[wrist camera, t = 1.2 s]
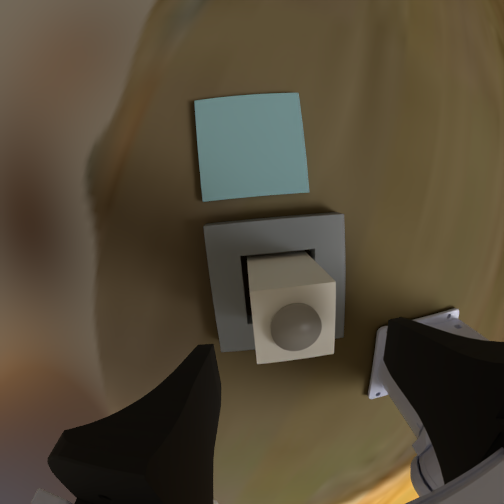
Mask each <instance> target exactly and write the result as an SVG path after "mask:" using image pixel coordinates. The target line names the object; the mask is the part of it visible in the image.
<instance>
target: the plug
mask: <svg viewBox="0 0 504 504" xmlns="http://www.w3.org/2000/svg"><path fill="white" fill-rule="evenodd" d="M247 266H248V278H249V291H250V301H251V311H252V320H253V330H254V340H255V349H256V359H257V364H265V363H274V362H282V361H290V360H297V359H304V358H311V357H317V356H323V355H329V354H334V342H335V311H336V281H335V280H334V279H333V278H332V277H331V276H330V275H329V274H328V273H327V272H326V271H325V270H324V269H323V268H322V267H321V266H319V265H318V264H317V263H316V262H315V261H314V260H313V259H312V258H311V257H310V256H309V255H308V254H307V253H306V252H305V251H294V252H283V253H273V254H263V255H253V256H247Z"/></svg>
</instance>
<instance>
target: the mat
mask: <svg viewBox="0 0 504 504" xmlns="http://www.w3.org/2000/svg"><path fill="white" fill-rule="evenodd" d="M194 102H195V118H196V132H197V145H198V157H199V168H200V179H201V189H202V199H203V202H206V201H215V200H224V199H234V198H244V197H255V196H266V195H278V194H292V193H307V192H309V183H308V172H307V161H306V151H305V142H304V133H303V124H302V116H301V108H300V101H299V93H271V94H253V95H240V96H229V97H220V98H211V99H204V100H197V101H194Z"/></svg>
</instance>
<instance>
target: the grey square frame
mask: <svg viewBox="0 0 504 504" xmlns="http://www.w3.org/2000/svg"><path fill="white" fill-rule="evenodd" d="M203 229H204V237H205V245H206V253H207V261H208V269H209V276H210V283H211V290H212V297H213V304H214V310H215V317H216V323H217V330H218V336H219V342H220V348H221V352H231V351H244V350H255V340H254V330H253V320H252V315H247V309H246V300H245V291H244V282H243V272H242V262H241V256H246V255H257V254H267V253H277V252H287V251H297V250H307V249H310V257H311V258H312V259H313V260H314V261H315V262H316V263H317V264H318V265H319V266H321V267H322V268H323V269H324V270H325V271H326V272H327V273H328V274H329V275H330V276H331V277H332V278H333V279H334V280H335V281H336V311H335V339H337V338H342V337H344V316H345V228H344V214H342V213H338V212H332V213H318V214H305V215H292V216H281V217H269V218H258V219H247V220H237V221H227V222H218V223H208V224H205V225H204V226H203Z"/></svg>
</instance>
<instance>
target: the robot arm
mask: <svg viewBox="0 0 504 504" xmlns="http://www.w3.org/2000/svg"><path fill="white" fill-rule="evenodd" d="M448 314H449V315H448ZM458 316H459V310H458V309H457V308H454V309H450V310H447V311H443V312H440V313H436V314H432V315H429V316H425V317H421V318H417V319H413V320H410V319H406V318H402V317H399V318H395V319H390V320H388V326H383V327H380V328H379V329H378V331H377V336H376V344H375V352H374V359H373V366H372V372H371V378H370V384H369V390H368V397H369V399H374V398H378V397H381V396H385V395H388V394H389V396H390V397H391V399H392V400H393V402H394V403H395V405H396V406H397V408H398V410H399V411H400V413H401V414H402V416H403V417H404V419H405V420H406V422H407V423H408V425H409V426H410V428H411V429H412V431H413V433H414V434H415V436H416V437H417V440H416V442H415V443H414V444H413V445H412V447H413V448H414V450H415V452H416V453H417V456H416V457H414V459H413V460H412V462H411V481H412V484H413V487H414V489H415V491H416V492H417V494H418V495H419V498H417V499H415V500H413V501H410V502H408V503H406V504H504V342H496V341H489V340H488V339H487V338H485V337H484V336H482V335H481V334H479V333H478V332H477V331H475V330H474V329H472V328H471V327H469V326H468V325H467V324H465V323H464V322H462V321H461V320H459V319H458ZM386 332H387V333H386ZM220 407H221V382H220V376H219V371H218V366H217V361H216V356H215V350H214V345H213V344H205V345H197V347H196V348H195V349H194V350H193V351H192V352H191V353H190V354H189V355H188V356H187V358H186V359H185V360H184V361H183V362H182V363H181V364H180V365H179V366H178V367H177V368H176V369H175V371H174V372H173V373H171V374H170V375H169V376H168V377H167V378H166V379H165V380H164V381H163V382H162V383H161V384H160V385H158V386H157V387H156V388H155V389H153V390H152V391H151V392H149V393H148V394H147V395H145V396H144V397H142V398H141V399H139V400H138V401H136V402H134V403H133V404H131V405H129V406H128V407H126V408H124V409H122V410H120V411H119V412H117V413H114V414H112V415H110V416H108V417H106V418H103V419H101V420H98V421H95V422H93V423H90V424H86V425H83V426H79V427H76V428H72V429H69V430H64V432H63V433H62V435H61V437H60V438H59V440H58V442H57V443H56V445H55V447H54V449H53V450H52V452H51V454H50V455H49V457H48V464H49V467H50V469H51V471H52V472H53V473H54V475H55V476H56V477H57V478H58V479H59V480H60V481H61V483H62V484H63V485H64V486H65V487H66V488H67V489H68V490H69V491H70V492H71V493H73V494H74V496H75V497H77V499H76V502H75V504H213V457H214V447H215V440H216V434H217V427H218V421H219V414H220ZM31 504H72V503H71V502H69V501H67V500H65V499H63V498H61V497H59V496H56V495H54V494H52V493H49V492H47V491H45V490H42V489H38V490H37V492H36V494H35V496H34V498H33V500H32V502H31Z"/></svg>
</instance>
